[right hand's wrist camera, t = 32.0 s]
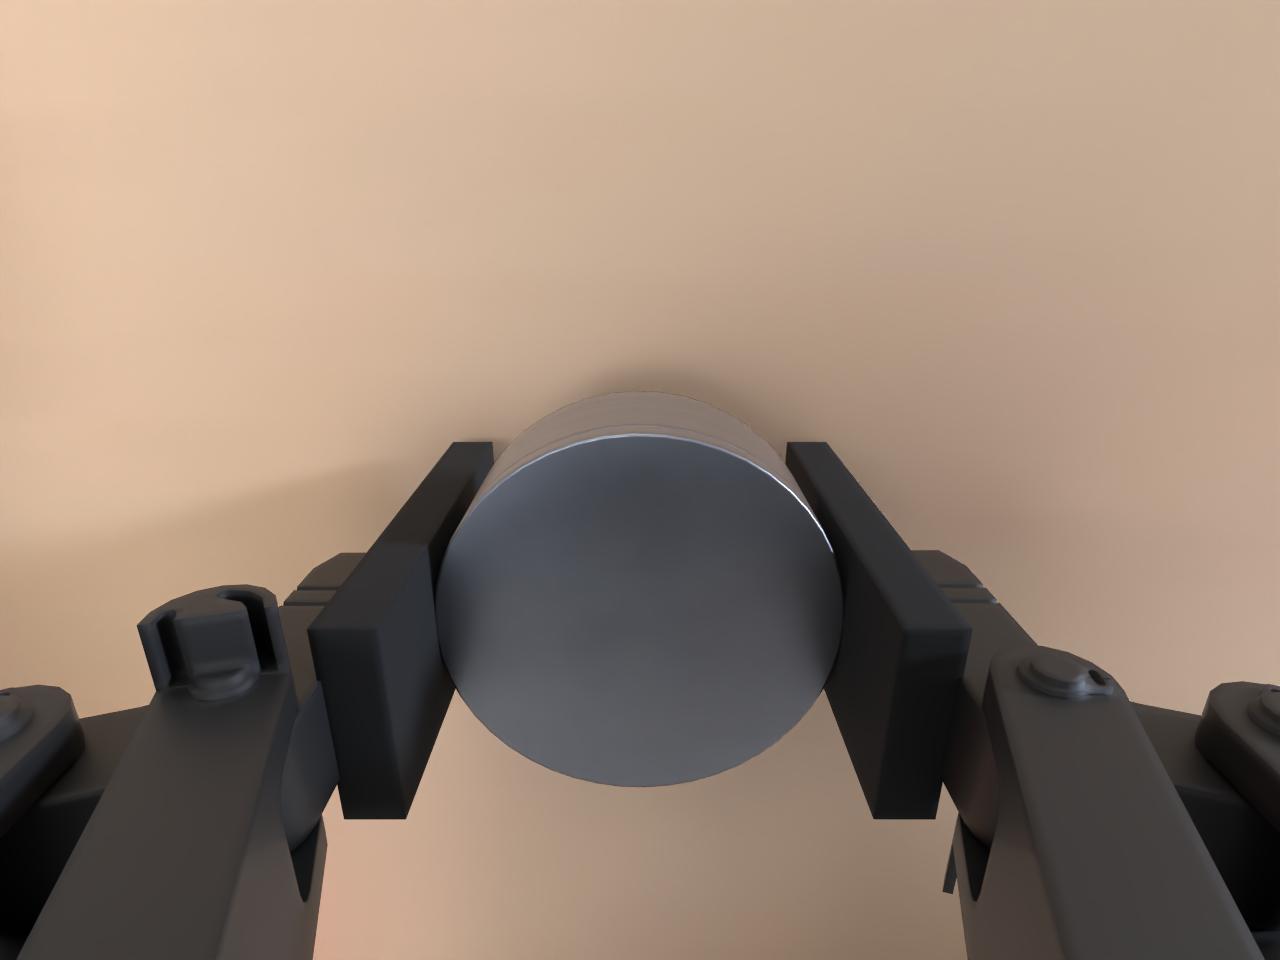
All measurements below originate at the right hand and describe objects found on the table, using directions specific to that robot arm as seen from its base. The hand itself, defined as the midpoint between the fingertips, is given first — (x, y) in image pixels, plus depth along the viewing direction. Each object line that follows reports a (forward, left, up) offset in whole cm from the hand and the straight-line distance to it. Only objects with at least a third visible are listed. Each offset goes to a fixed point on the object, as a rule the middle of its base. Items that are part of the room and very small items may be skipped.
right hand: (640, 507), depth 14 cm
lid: (0, 0, +4) cm, 4 cm away
